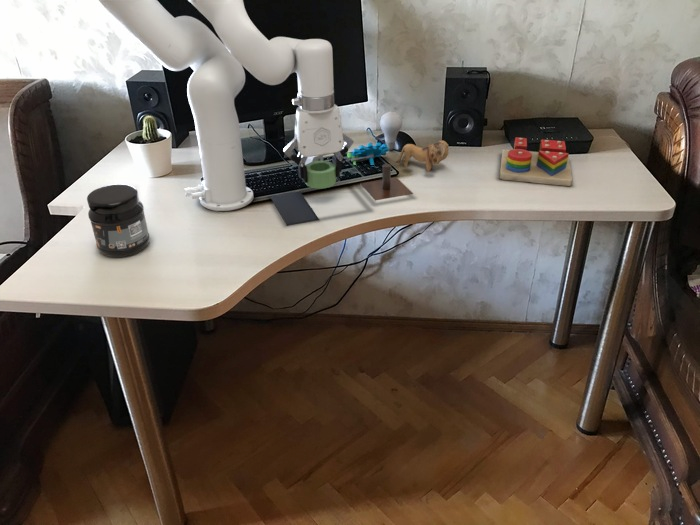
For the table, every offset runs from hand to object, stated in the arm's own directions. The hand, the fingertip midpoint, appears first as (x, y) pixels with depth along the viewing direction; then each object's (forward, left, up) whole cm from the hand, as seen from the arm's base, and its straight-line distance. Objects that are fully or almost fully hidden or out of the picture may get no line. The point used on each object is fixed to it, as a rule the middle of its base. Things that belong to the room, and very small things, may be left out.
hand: (320, 177), depth 136 cm
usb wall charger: (+4, +22, -7) cm, 24 cm away
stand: (+17, 0, -7) cm, 18 cm away
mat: (0, 0, -7) cm, 7 cm away
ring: (0, 0, -1) cm, 1 cm away
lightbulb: (+29, +25, -7) cm, 39 cm away
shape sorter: (+59, -1, -7) cm, 59 cm away
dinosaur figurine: (+19, +17, -7) cm, 26 cm away
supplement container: (-44, -4, -7) cm, 45 cm away
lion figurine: (+31, +9, -7) cm, 33 cm away
